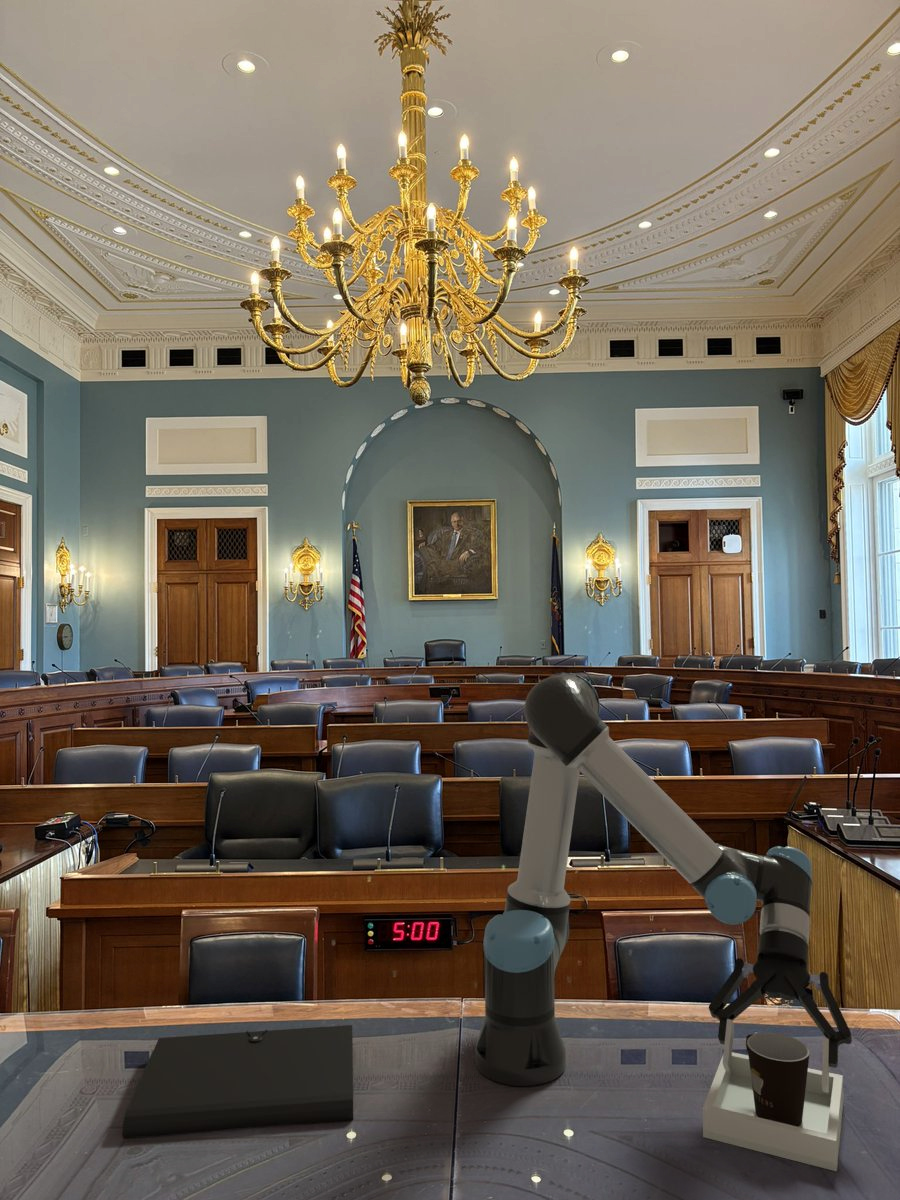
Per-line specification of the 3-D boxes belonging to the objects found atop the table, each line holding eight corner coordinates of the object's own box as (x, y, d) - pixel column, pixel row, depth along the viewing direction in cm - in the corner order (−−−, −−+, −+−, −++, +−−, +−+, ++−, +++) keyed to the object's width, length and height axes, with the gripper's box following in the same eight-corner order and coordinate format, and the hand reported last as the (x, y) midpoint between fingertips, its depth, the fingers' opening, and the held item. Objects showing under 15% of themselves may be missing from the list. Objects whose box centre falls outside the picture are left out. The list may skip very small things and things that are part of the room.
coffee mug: (816, 1136, 120) (815, 1064, 120) (751, 1129, 122) (750, 1057, 122) (800, 1092, 131) (799, 1026, 131) (741, 1086, 133) (740, 1021, 133)
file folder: (352, 1022, 151) (353, 1099, 127) (352, 1045, 150) (353, 1127, 127) (159, 1035, 147) (122, 1117, 123) (159, 1059, 147) (122, 1146, 123)
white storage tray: (703, 1137, 122) (702, 1108, 122) (725, 1075, 138) (724, 1050, 138) (836, 1171, 114) (836, 1141, 114) (843, 1102, 130) (842, 1075, 130)
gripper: (870, 963, 135) (870, 1108, 121) (708, 938, 147) (691, 1068, 133) (868, 940, 130) (868, 1088, 117) (701, 916, 142) (683, 1048, 128)
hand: (774, 1078), depth 125 cm, fingers open, 13 cm apart
